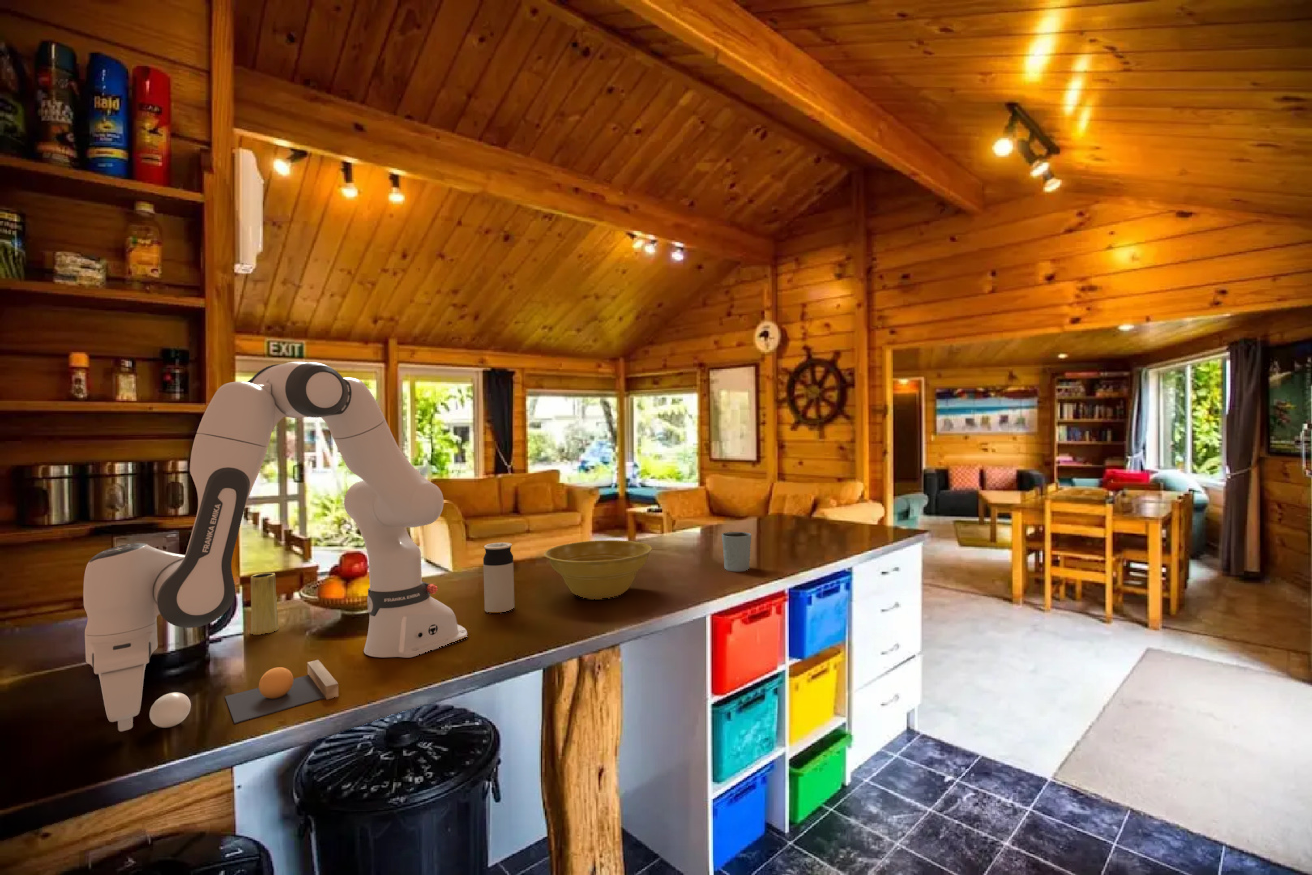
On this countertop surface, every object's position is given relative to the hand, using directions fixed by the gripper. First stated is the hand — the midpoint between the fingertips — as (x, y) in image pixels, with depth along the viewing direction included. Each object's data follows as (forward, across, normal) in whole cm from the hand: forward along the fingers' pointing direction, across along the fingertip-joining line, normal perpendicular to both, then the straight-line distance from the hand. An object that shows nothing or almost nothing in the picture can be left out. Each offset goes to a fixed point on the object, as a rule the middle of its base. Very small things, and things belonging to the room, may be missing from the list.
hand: (125, 727), depth 98 cm
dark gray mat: (+2, 0, +21) cm, 21 cm away
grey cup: (+2, -4, +158) cm, 158 cm away
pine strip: (+2, 0, +29) cm, 29 cm away
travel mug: (+2, -20, +77) cm, 80 cm away
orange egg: (-1, 0, +21) cm, 21 cm away
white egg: (-1, 0, +6) cm, 6 cm away
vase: (+2, -47, +26) cm, 54 cm away
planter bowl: (+2, -13, +106) cm, 107 cm away
